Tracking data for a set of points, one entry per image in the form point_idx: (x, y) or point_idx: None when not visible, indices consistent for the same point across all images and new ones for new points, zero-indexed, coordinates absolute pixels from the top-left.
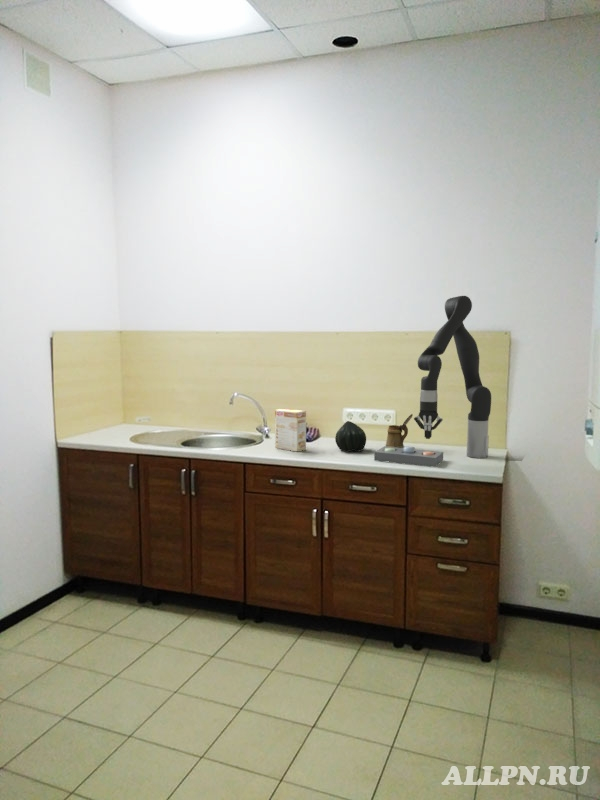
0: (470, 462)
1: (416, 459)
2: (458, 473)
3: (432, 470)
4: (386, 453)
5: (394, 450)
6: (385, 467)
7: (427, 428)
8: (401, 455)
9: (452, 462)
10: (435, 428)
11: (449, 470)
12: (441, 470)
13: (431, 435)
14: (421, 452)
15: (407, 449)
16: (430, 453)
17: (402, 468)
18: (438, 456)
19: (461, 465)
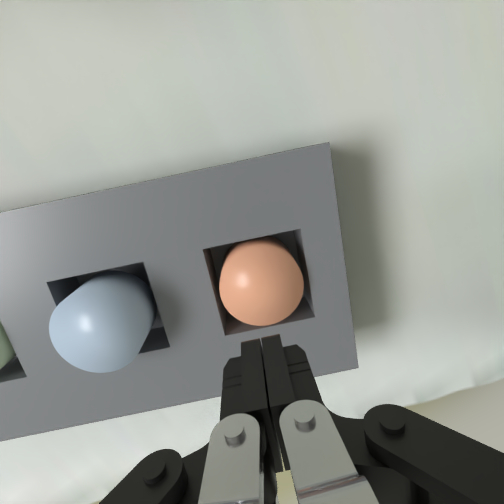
0: (495, 78)
1: None
2: (487, 380)
3: (354, 404)
4: (23, 434)
5: (3, 347)
6: None
7: (272, 481)
8: (128, 411)
9: (386, 161)
10: (407, 424)
11: (430, 355)
12: (394, 378)
13: (307, 359)
14: (197, 278)
15: (114, 366)
16: (287, 304)
17: None
18: (347, 294)
19: (460, 206)
